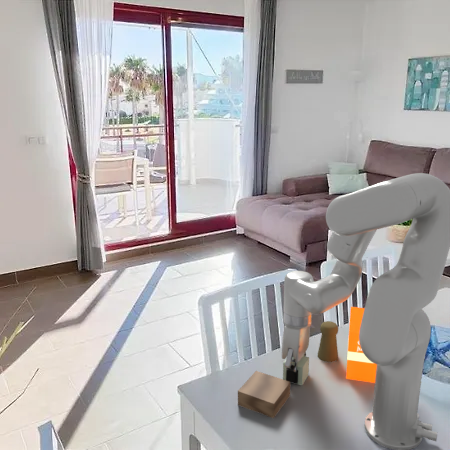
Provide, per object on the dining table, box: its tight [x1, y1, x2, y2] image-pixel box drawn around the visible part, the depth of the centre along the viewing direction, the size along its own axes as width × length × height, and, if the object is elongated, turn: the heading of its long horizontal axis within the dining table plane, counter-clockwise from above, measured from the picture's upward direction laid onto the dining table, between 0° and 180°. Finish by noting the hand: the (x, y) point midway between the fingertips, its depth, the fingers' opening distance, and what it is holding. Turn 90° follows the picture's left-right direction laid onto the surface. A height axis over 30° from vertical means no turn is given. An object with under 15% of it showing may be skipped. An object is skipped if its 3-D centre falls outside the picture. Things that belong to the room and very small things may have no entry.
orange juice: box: [345, 306, 377, 384], centre depth 126 cm, size 8×9×20 cm
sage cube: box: [282, 355, 310, 386], centre depth 127 cm, size 6×6×6 cm
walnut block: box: [237, 370, 291, 419], centre depth 118 cm, size 10×10×4 cm
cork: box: [317, 320, 339, 363], centre depth 136 cm, size 6×6×11 cm
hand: (295, 375), depth 127 cm, fingers closed on sage cube, 5 cm apart
